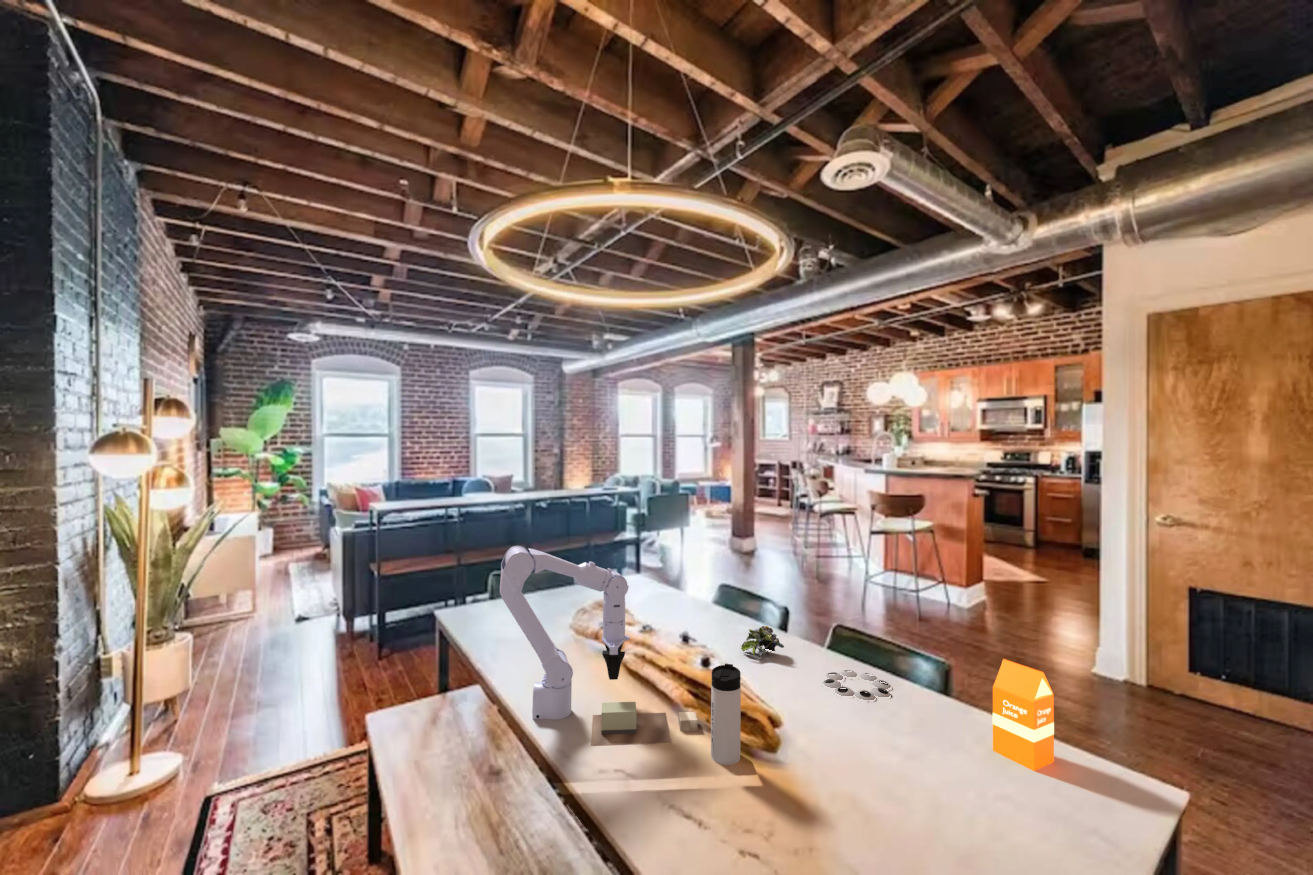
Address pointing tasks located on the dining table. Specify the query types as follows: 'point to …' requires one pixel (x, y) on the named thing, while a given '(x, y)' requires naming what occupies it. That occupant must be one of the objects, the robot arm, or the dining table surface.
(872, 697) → the silver black segmented ring
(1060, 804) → the dining table surface
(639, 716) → the walnut board
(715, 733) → the travel mug
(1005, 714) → the orange juice
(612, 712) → the block
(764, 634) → the passion flower
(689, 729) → the birch offcut
